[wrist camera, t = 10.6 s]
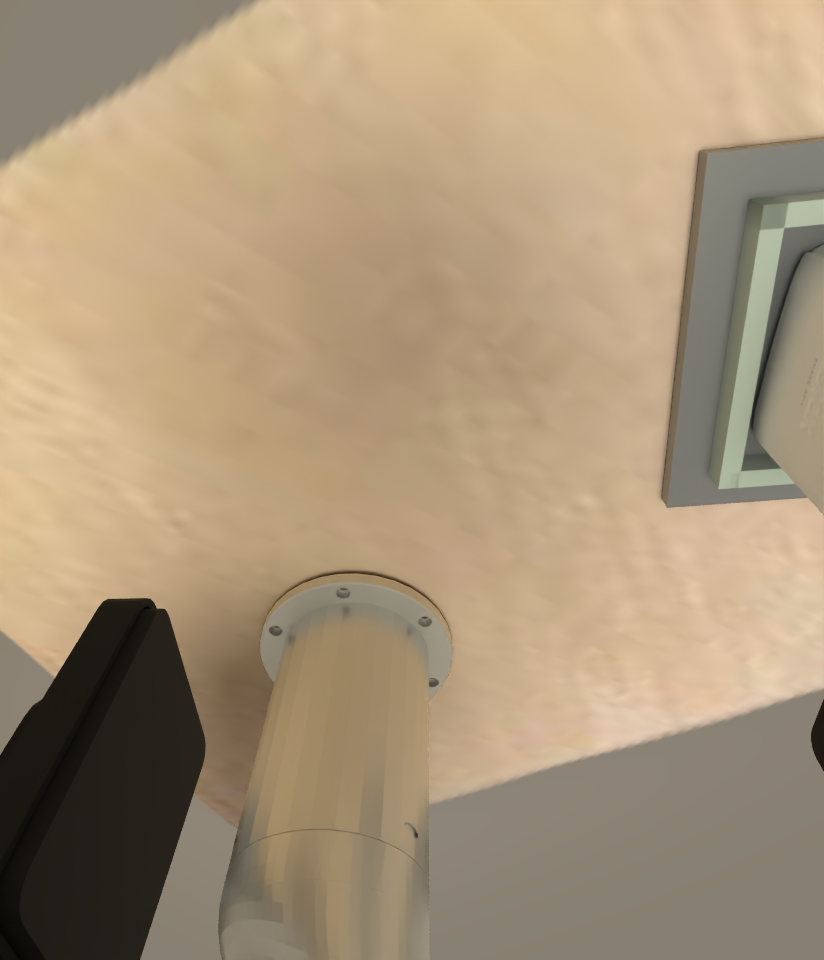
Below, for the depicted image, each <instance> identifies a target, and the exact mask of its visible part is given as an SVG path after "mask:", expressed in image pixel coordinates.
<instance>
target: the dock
mask: <svg viewBox="0 0 824 960" xmlns="http://www.w3.org/2000/svg"><path fill="white" fill-rule="evenodd" d="M823 244H824V138H816V139H807V140H797V141H788V142H778V143H769V144H760V145H750V146H741V147H732V148H722V149H713V150H703V151H700V152H699V161H698V170H697V179H696V188H695V198H694V207H693V216H692V225H691V234H690V243H689V252H688V262H687V271H686V280H685V289H684V298H683V307H682V316H681V326H680V335H679V344H678V353H677V362H676V371H675V380H674V390H673V399H672V408H671V417H670V426H669V435H668V444H667V454H666V463H665V472H664V481H663V490H662V500H663V501H664V503H665V505H666V507H667V508H670V507H684V506H698V505H712V504H726V503H740V502H754V501H768V500H782V499H796V498H808V497H807V496H806V495H805V494H804V493H803V492H802V491H801V490H800V488H799V487H798V486H797V485H796V484H795V483H794V482H793V481H792V480H791V479H790V477H789V476H788V475H787V474H786V473H785V472H784V471H783V470H782V469H781V467H780V466H779V465H778V464H777V463H776V462H775V461H774V460H773V458H772V457H771V456H770V455H769V454H768V453H767V452H766V450H765V449H764V448H763V447H762V446H761V445H760V444H759V443H758V441H757V440H756V438H755V436H754V433H753V424H754V416H755V410H756V406H757V401H758V397H759V393H760V389H761V385H762V382H763V378H764V373H765V370H766V366H767V361H768V358H769V355H770V351H771V347H772V344H773V340H774V337H775V333H776V330H777V326H778V323H779V320H780V317H781V313H782V310H783V307H784V304H785V300H786V297H787V294H788V291H789V288H790V285H791V282H792V279H793V277H794V274H795V272H796V270H797V267H798V265H799V263H800V261H801V259H802V257H803V256H804V254H805V253H807V252H812V251H813V250H814V249H815V248H817V247H819V246H821V245H823Z"/></svg>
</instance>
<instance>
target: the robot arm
mask: <svg viewBox="0 0 824 960" xmlns="http://www.w3.org/2000/svg"><path fill="white" fill-rule="evenodd" d="M260 656H261V660H262V663H263V666H264V669H265V671H266V672H267V674H268V676H269V678H270V679H271V681H272V682H273V683H274V686H273V690H272V694H271V698H270V702H269V706H268V710H267V714H266V718H265V722H264V726H263V730H262V734H261V738H260V742H259V746H258V750H257V754H256V758H255V762H254V766H253V770H252V774H251V778H250V782H249V786H248V790H247V794H246V798H245V802H244V806H243V810H242V815H241V819H240V823H239V827H238V831H237V835H236V839H235V843H234V847H233V852H232V856H231V860H230V864H229V868H228V871H227V875H226V880H225V883H224V888H223V892H222V897H221V902H220V908H219V924H218V934H219V944H220V952H221V957H222V960H430V940H429V699H430V698H432V697H433V696H434V695H435V694H436V693H437V691H438V690H439V689H440V688H441V687H442V685H443V684H444V682H445V680H446V679H447V677H448V675H449V672H450V668H451V665H452V641H451V634H450V631H449V629H448V626H447V623H446V621H445V620H444V618H443V617H442V615H441V614H440V612H439V610H438V609H437V608H436V607H435V606H434V605H433V604H432V603H431V602H430V601H429V600H428V599H427V598H425V597H424V596H422V595H421V594H419V593H418V592H416V591H415V590H413V589H412V588H410V587H408V586H405V585H403V584H401V583H399V582H396V581H394V580H390V579H387V578H383V577H379V576H375V575H366V574H358V573H354V574H335V575H330V576H324V577H319V578H316V579H313V580H311V581H308V582H305V583H302V584H301V585H299V586H297V587H295V588H294V589H292V590H290V591H289V592H287V593H286V594H285V595H284V596H283V597H282V598H281V599H279V600H278V601H277V602H276V603H275V605H274V606H273V608H272V609H271V611H270V612H269V613H268V616H267V618H266V621H265V623H264V626H263V630H262V634H261V638H260ZM811 742H812V748H813V751H814V754H815V756H816V758H817V760H818V762H819V763H820V765H821V767H822V769H823V771H824V700H823V703H822V705H821V708H820V710H819V713H818V715H817V718H816V721H815V723H814V725H813V728H812V732H811ZM204 757H205V737H204V733H203V729H202V726H201V723H200V719H199V716H198V713H197V709H196V706H195V702H194V699H193V696H192V692H191V689H190V686H189V682H188V679H187V676H186V672H185V669H184V665H183V662H182V659H181V655H180V652H179V649H178V645H177V642H176V638H175V635H174V632H173V628H172V625H171V622H170V618H169V615H168V613H167V611H166V610H165V609H157V608H156V606H155V604H154V602H153V601H152V600H151V599H148V598H136V599H107V600H105V601H103V602H102V604H101V605H100V606H99V607H98V609H97V611H96V612H95V614H94V616H93V617H92V619H91V621H90V622H89V624H88V625H87V627H86V629H85V630H84V632H83V634H82V635H81V637H80V638H79V640H78V642H77V643H76V645H75V647H74V648H73V650H72V651H71V653H70V655H69V656H68V658H67V660H66V661H65V663H64V665H63V666H62V668H61V669H60V671H59V673H58V674H57V676H56V678H55V679H54V681H53V682H52V684H51V686H50V687H49V689H48V691H47V692H46V694H45V696H44V697H43V699H42V700H40V701H39V702H38V703H36V704H34V705H33V706H32V707H31V709H30V710H29V711H28V713H27V714H26V715H25V717H24V718H23V720H22V721H21V723H20V724H19V726H18V728H17V729H16V731H15V732H14V734H13V736H12V737H11V739H10V740H9V742H8V744H7V745H6V747H5V748H4V750H3V752H2V753H1V755H0V960H140V958H141V955H142V952H143V949H144V946H145V942H146V939H147V936H148V933H149V929H150V927H151V924H152V920H153V917H154V914H155V911H156V908H157V905H158V902H159V899H160V896H161V893H162V890H163V886H164V883H165V880H166V877H167V874H168V871H169V868H170V865H171V862H172V859H173V856H174V852H175V849H176V846H177V843H178V840H179V837H180V834H181V831H182V828H183V825H184V821H185V818H186V815H187V812H188V809H189V806H190V803H191V800H192V797H193V794H194V790H195V787H196V784H197V781H198V778H199V775H200V772H201V769H202V766H203V762H204Z"/></svg>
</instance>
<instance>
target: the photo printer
mask: <svg viewBox="0 0 824 960" xmlns="http://www.w3.org/2000/svg"><path fill="white" fill-rule="evenodd" d="M753 433H754V436H755V438H756V440H757V441H758V443H759V444H760V445H761V446H762V447H763V448H764V449H765V450H766V452H767V453H768V454H769V455H770V456H771V457H772V458H773V460H774V461H775V462H776V463H777V464H778V465H779V466H780V467H781V469H782V470H783V471H784V472H785V473H786V474H787V475H788V476H789V477H790V479H791V480H792V481H793V482H794V483H795V484H796V485H797V486H798V487H799V488H800V490H801V491H802V492H803V493H804V494H805V495H806V496H807V497H808V499H809V500H810V501H811V502H812V503H813V504H814V505H815V506H816V507H817V508H818V509H819V511H820V512H821V513H822V514H823V515H824V244H823V245H821V246H819V247H817V248H815V249H814V250H813V251H812V252H807V253H805V254H804V256H803V257H802V259H801V261H800V263H799V265H798V267H797V270H796V272H795V274H794V277H793V279H792V282H791V285H790V288H789V291H788V294H787V297H786V300H785V304H784V307H783V310H782V313H781V317H780V320H779V323H778V326H777V330H776V333H775V337H774V340H773V344H772V347H771V351H770V355H769V358H768V361H767V366H766V370H765V373H764V378H763V382H762V385H761V389H760V393H759V397H758V401H757V406H756V410H755V416H754V424H753Z"/></svg>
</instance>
